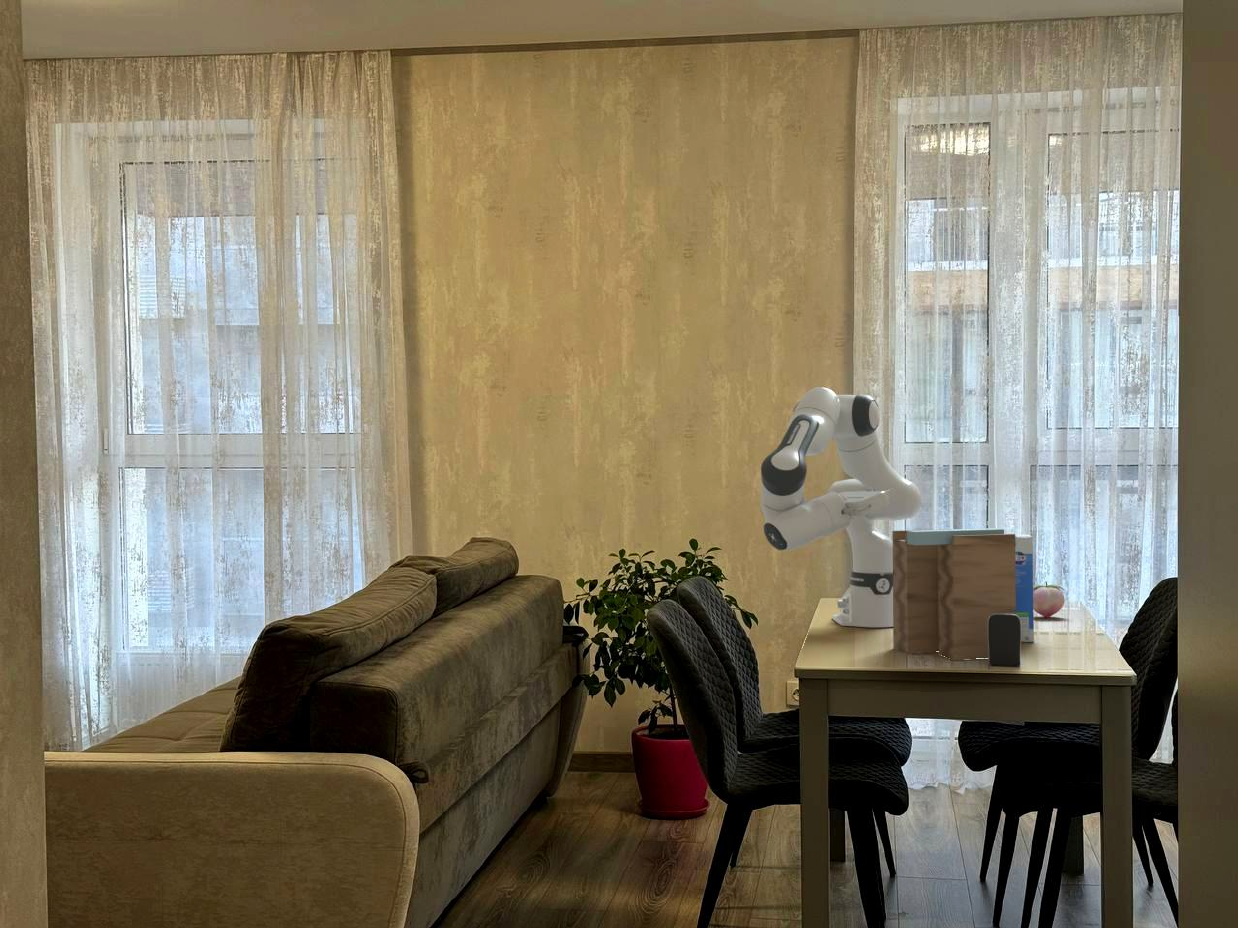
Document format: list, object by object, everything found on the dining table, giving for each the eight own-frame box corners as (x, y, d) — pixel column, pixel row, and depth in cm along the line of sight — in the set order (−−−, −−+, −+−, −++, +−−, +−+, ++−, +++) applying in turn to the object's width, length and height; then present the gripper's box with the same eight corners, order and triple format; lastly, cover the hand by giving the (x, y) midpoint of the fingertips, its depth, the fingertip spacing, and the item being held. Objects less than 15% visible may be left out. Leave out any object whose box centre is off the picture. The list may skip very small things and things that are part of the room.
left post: (893, 648, 303) (892, 530, 302) (951, 645, 306) (950, 529, 305) (907, 653, 295) (906, 533, 295) (967, 650, 298) (966, 531, 298)
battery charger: (1020, 663, 280) (1020, 612, 280) (1021, 667, 277) (1021, 614, 277) (987, 663, 282) (986, 611, 282) (988, 666, 278) (987, 613, 278)
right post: (938, 655, 293) (937, 533, 292) (998, 652, 296) (997, 531, 295) (954, 660, 285) (953, 536, 285) (1016, 657, 288) (1015, 534, 288)
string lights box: (1030, 638, 316) (1029, 534, 315) (1034, 642, 308) (1034, 536, 308) (975, 637, 318) (974, 534, 318) (978, 642, 311) (977, 536, 310)
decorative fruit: (1056, 615, 355) (1056, 579, 355) (1068, 619, 347) (1068, 582, 347) (1023, 615, 355) (1023, 579, 354) (1034, 619, 346) (1034, 583, 346)
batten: (907, 544, 288) (907, 530, 288) (996, 541, 293) (996, 528, 293) (914, 545, 285) (914, 531, 285) (1004, 542, 290) (1004, 529, 290)
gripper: (850, 499, 277) (903, 477, 281) (809, 499, 297) (858, 478, 301) (859, 526, 278) (912, 504, 282) (817, 524, 297) (867, 503, 301)
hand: (884, 491), depth 291 cm, fingers open, 8 cm apart
